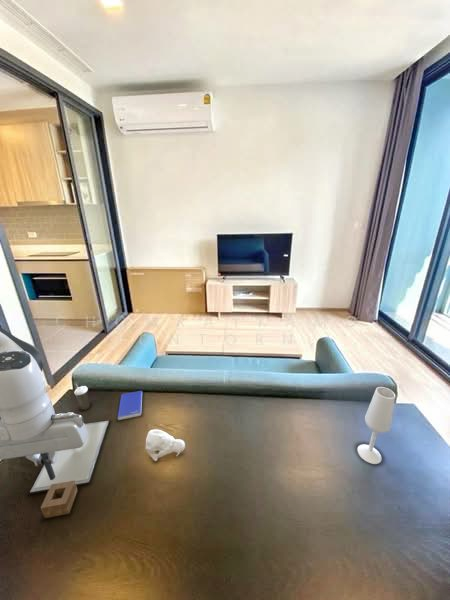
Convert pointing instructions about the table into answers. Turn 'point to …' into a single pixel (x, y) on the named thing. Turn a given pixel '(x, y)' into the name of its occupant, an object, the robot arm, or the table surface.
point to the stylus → (48, 466)
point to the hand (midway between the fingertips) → (46, 462)
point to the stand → (59, 499)
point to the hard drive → (130, 405)
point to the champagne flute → (378, 422)
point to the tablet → (74, 461)
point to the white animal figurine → (162, 444)
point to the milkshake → (82, 397)
